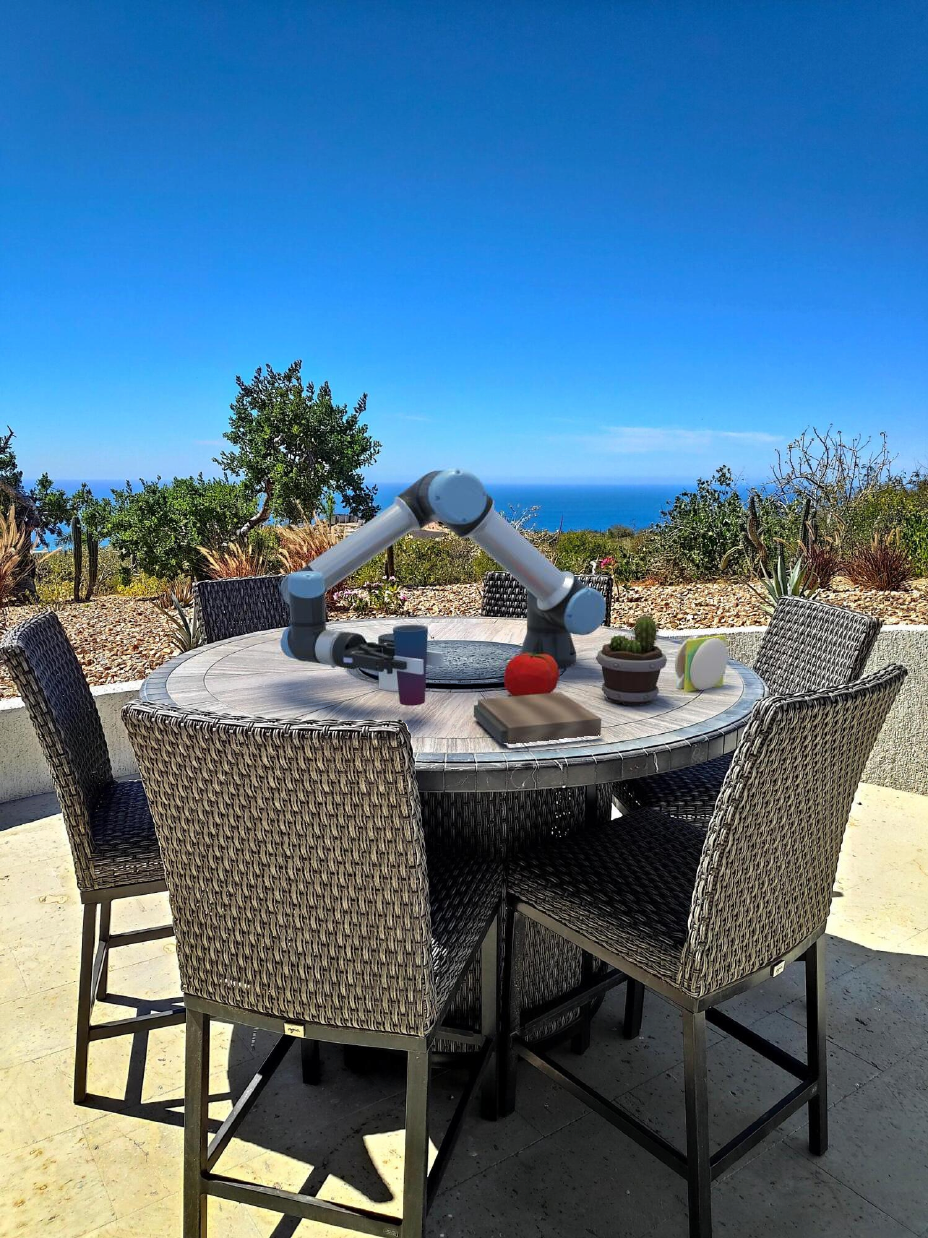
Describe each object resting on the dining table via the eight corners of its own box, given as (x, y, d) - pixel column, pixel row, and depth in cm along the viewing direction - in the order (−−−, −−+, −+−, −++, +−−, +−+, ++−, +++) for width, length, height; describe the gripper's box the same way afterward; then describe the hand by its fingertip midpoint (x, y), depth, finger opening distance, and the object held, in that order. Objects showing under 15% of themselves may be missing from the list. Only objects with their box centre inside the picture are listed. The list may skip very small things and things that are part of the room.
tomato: (495, 693, 162) (495, 649, 160) (545, 688, 166) (546, 645, 164) (515, 707, 151) (516, 660, 150) (568, 701, 156) (569, 655, 154)
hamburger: (702, 679, 174) (705, 631, 172) (730, 687, 167) (733, 637, 165) (666, 685, 168) (669, 636, 166) (693, 694, 161) (697, 642, 159)
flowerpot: (615, 712, 148) (619, 617, 144) (584, 692, 162) (587, 605, 159) (678, 707, 152) (683, 614, 148) (641, 688, 166) (645, 603, 163)
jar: (387, 693, 161) (386, 641, 159) (371, 685, 168) (370, 635, 166) (421, 687, 166) (421, 637, 164) (404, 680, 173) (404, 631, 171)
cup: (395, 697, 144) (393, 624, 142) (428, 696, 145) (427, 624, 142) (394, 707, 138) (392, 631, 135) (430, 706, 138) (428, 630, 136)
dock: (560, 710, 149) (560, 692, 148) (600, 739, 132) (601, 718, 131) (472, 719, 144) (472, 699, 143) (502, 749, 127) (503, 728, 126)
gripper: (372, 657, 158) (460, 671, 145) (310, 677, 142) (402, 694, 130) (371, 624, 157) (459, 635, 144) (309, 640, 141) (401, 654, 129)
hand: (432, 663), depth 137 cm, fingers closed on cup, 6 cm apart
